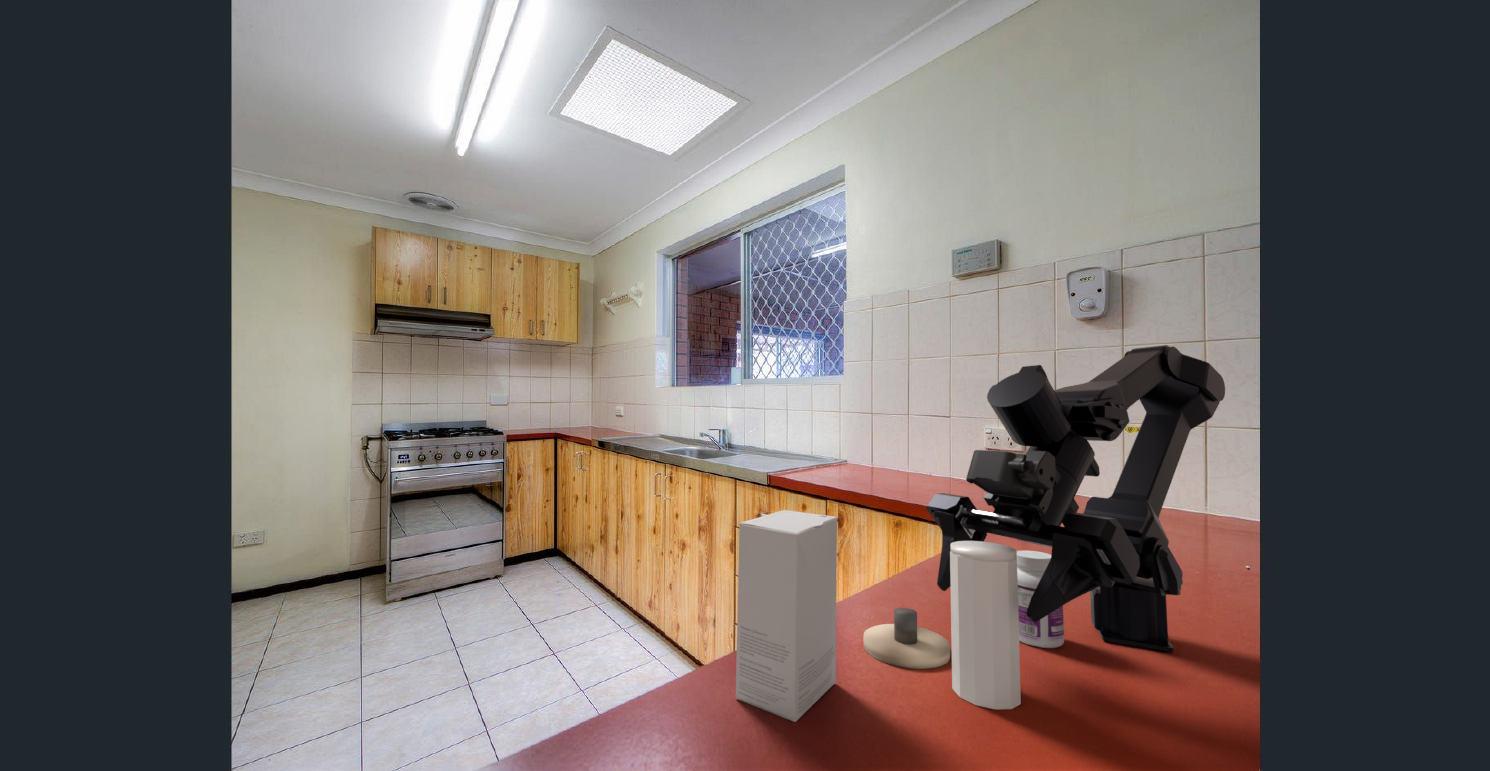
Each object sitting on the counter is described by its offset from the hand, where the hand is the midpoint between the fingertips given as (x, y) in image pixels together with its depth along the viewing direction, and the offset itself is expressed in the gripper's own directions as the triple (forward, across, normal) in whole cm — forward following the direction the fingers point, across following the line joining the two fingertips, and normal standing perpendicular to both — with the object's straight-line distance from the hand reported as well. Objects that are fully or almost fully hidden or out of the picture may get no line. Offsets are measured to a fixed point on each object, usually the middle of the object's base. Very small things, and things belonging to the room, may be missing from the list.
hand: (981, 602), depth 47 cm
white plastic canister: (+6, 0, +6) cm, 8 cm away
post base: (+5, -10, +6) cm, 13 cm away
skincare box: (+17, -8, -5) cm, 20 cm away
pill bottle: (-6, -5, +17) cm, 19 cm away
